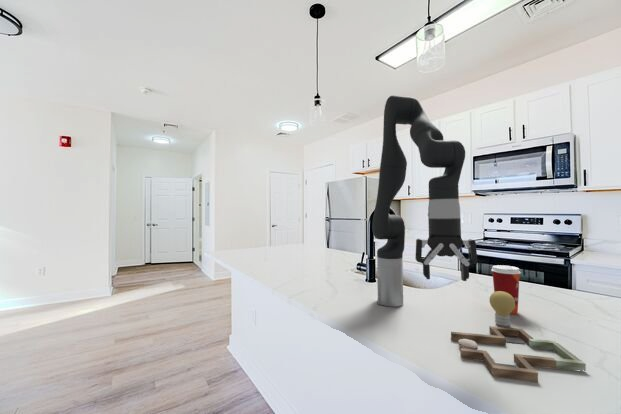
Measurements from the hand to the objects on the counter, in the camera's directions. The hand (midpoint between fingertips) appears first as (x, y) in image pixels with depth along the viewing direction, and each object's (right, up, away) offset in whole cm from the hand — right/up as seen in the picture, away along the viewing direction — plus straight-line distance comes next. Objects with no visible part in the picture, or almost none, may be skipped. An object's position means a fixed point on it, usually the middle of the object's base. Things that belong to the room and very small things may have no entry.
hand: (445, 279), depth 71 cm
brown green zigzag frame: (+12, -17, -5) cm, 21 cm away
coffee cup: (+32, -17, +22) cm, 43 cm away
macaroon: (+5, -17, -2) cm, 18 cm away
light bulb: (+23, -17, +11) cm, 31 cm away
